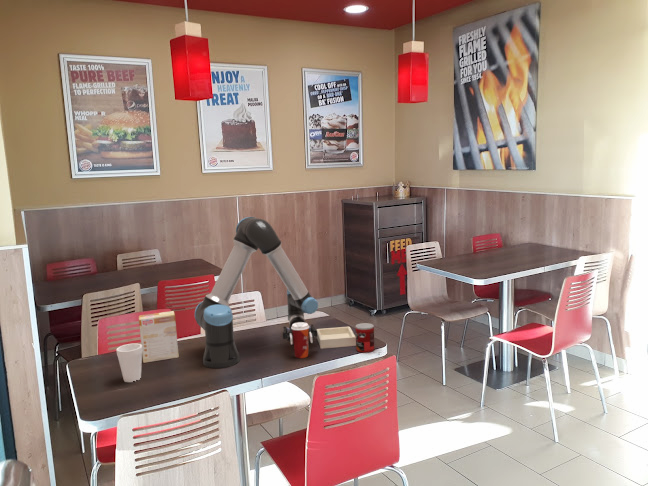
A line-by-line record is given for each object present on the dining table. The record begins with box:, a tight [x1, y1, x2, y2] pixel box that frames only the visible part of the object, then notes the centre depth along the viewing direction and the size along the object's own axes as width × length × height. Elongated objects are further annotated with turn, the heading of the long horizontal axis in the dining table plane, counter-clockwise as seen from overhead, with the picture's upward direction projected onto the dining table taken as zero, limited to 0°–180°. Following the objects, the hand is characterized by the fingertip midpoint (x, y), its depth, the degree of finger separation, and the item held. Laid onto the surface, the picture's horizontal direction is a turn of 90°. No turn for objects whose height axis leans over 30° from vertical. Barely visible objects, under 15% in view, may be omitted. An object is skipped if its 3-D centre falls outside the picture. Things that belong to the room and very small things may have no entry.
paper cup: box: [291, 321, 310, 359], centre depth 225 cm, size 8×8×14 cm
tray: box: [315, 326, 356, 350], centre depth 243 cm, size 16×16×4 cm
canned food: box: [355, 322, 375, 354], centre depth 230 cm, size 8×8×11 cm
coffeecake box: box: [138, 310, 180, 363], centre depth 230 cm, size 15×7×20 cm, turn 110°
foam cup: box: [115, 342, 143, 383], centre depth 208 cm, size 10×9×13 cm
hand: (301, 340), depth 220 cm, fingers closed on paper cup, 8 cm apart
